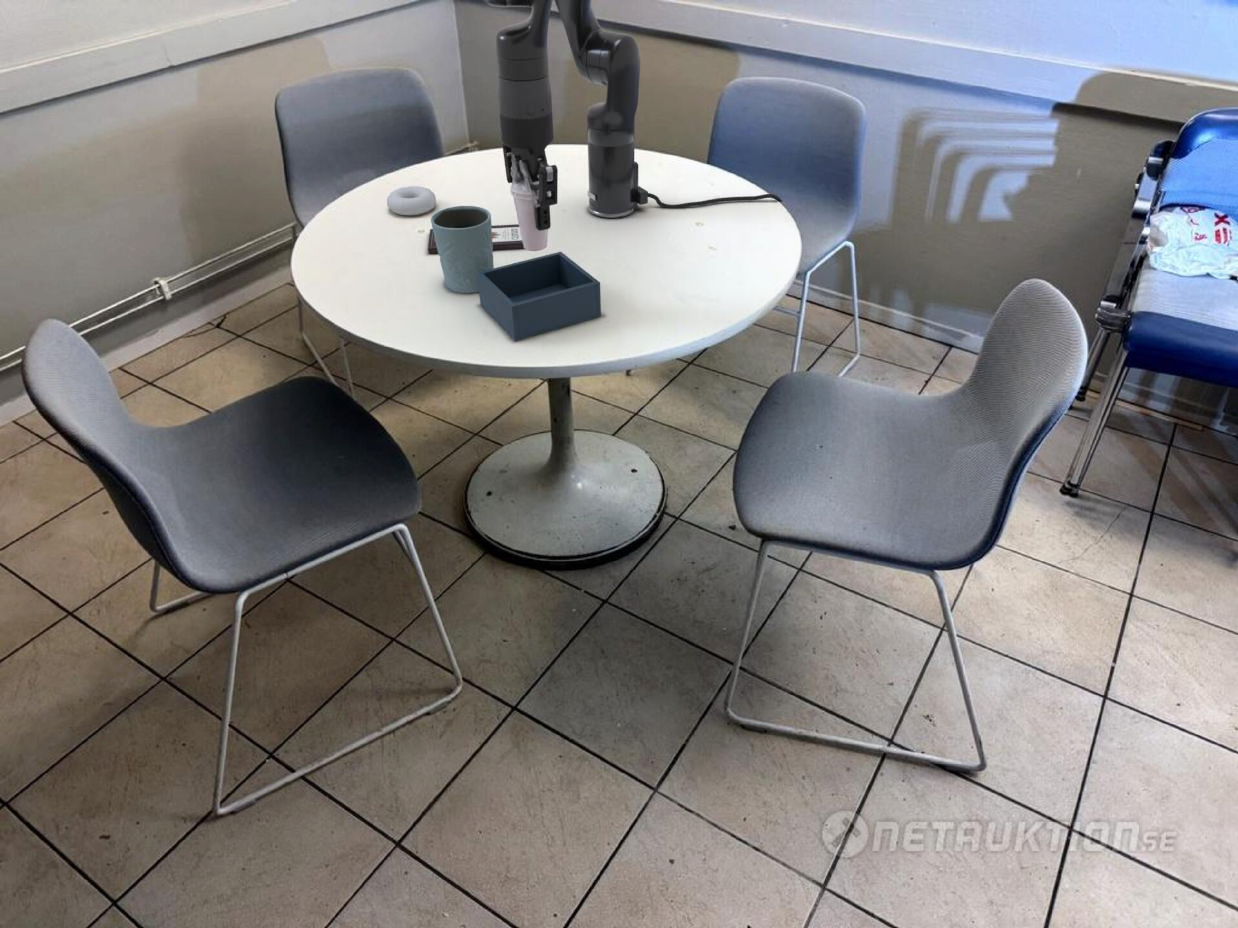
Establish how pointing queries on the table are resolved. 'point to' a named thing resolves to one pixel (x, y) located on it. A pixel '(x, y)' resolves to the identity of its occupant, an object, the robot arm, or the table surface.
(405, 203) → the donut
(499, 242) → the chocolate bar
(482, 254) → the blue-green cup
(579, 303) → the basin
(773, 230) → the table surface
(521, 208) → the smoothie
